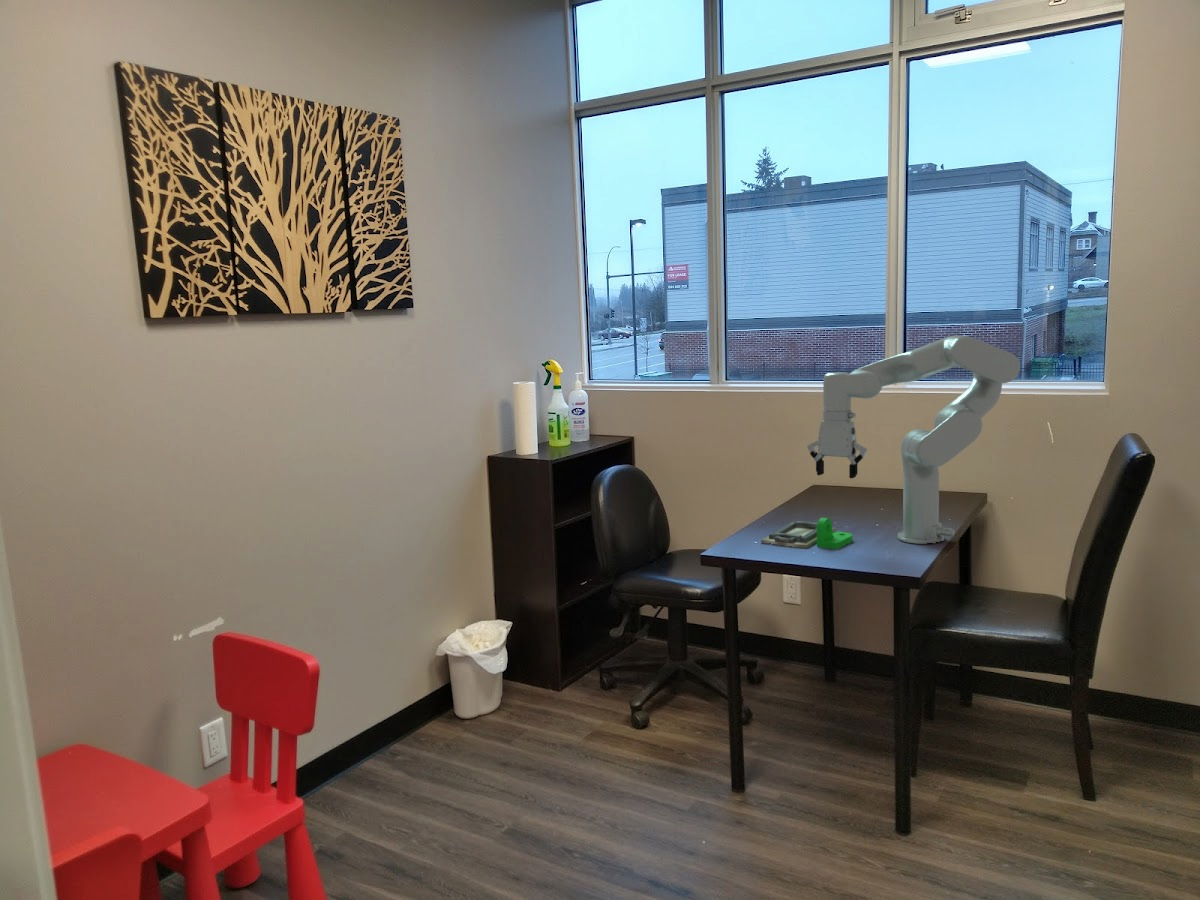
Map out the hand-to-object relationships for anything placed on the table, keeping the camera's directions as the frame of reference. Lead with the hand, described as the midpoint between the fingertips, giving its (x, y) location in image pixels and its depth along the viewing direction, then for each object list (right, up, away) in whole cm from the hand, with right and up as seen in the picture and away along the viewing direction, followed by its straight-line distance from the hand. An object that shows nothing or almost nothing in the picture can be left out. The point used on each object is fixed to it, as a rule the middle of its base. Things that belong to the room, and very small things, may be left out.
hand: (836, 476), depth 245 cm
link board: (-8, -19, +11) cm, 23 cm away
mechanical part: (+1, -20, +2) cm, 20 cm away
